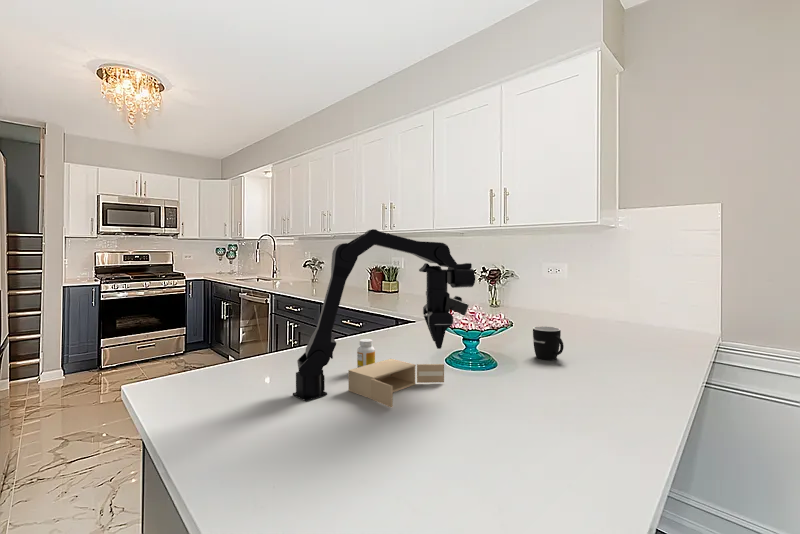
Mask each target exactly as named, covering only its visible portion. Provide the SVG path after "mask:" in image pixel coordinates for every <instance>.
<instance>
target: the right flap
mask: <svg viewBox="0 0 800 534" xmlns="http://www.w3.org/2000/svg"><path fill="white" fill-rule="evenodd" d="M417 383H418V384H421V383H422V384H423V383H426V384H427V383H445V363H428V364H427V363H423V364H422V363H418V364H416V384H417Z"/></svg>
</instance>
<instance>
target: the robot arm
mask: <svg viewBox="0 0 800 534" xmlns="http://www.w3.org/2000/svg"><path fill="white" fill-rule="evenodd" d="M373 246H377V247H381V248H386V249H390V250H393V251H398V252H401V253H402V252H403V253H406V254H410V255H413V256H415V257H417V258H418V259H421V260H423V261H425V263H423V265H422V266H421V267H420V268H418V272H421V273H426V291H425V296H426V304H425V305H424V306H423V307H422V314H423V317H424V321H425V323H426V326H427V329H428V331H429V333H430V336H431V339H432V341H433V342H434V344H435V346H436V349H438V350H439V349H440V350H441V349H442V347H443V342H444V338H445V334H446V332H447V330H448V329H449V328H450V327H452V326H453V324H454V316H453V314H451V313H450V312H451V311H452V312H455V313H459V315H461V316H466V314H467V311H468V308H469V306H470V305H469V304H468V303H467V302H465V301H463V297H461V296H458V295H455V296H454V297H451V296H450V293H449V292H448V285H450V287H451V289H452V288H453V289H454V288H455V289H457V288H473V287H474V285H475V282H476V274H475V271H474V269H473V267H472V265H473V264H472V263H471V262H465V263H457V262H456V260H455V259H454V257H453V256H452V254H451V251H450V248H449V245H448V244H447V243H445V242H437V241H420V240H415V239H412V238H411V239H410V238H407V237H403V236H400V235H395V234H391V233H389V232H388V233H387V232H383V231H380V230H377V229H369V230H367V231H365V232H364V233H363V234H361V235H360V236H358V237H356V238H354V239H352V240H351V241H349V242H343V243H340V244H339V243H338V244H337V245H336V246H335V247H334V248H333V250H332V253H331V264H330V265H331V266H330V267H331V268H330V278H329V283H328V286H327V289H326V293H325V296H324V300H323V303H322V308H321V311H320V315H319V319H318V323H317V325H316V328H315V330H314V332H312V335H311V337H310V338H309V340H308V343H307V345H306V347H305V351H304V353H303V354H302V355H301V356H300V357H299V358H298V359H297V360H296V361H297V362H296V363H297V368H298V371H296V372H295V392H292V396H293V397H296V398H298V399H300V400H302V401H306V402H309V401H312V400H315V399H318V398H322V397H324V396H327V395H328V392H327V391H325V387H326V386H325V383H326V381H325V374H324V369H323V368H324V367H325V366H327V365H328V364H329V361H330V359H331V360H332V359H334V354H333V352H334V350H335V348H336V346H337V341H336V340H335V338H334V337H332V334H333V333H332V332H333V328H334V324H335V323H336V322H335V321H336V318H337V314H338V311H339V307H340V303H341V299H342V296H343V292H344V289H345V287H346V282H347V280H348V277H349V276H350V274H351V272H352V271H353V268H354V267H355V264H356V262H358V257H359V256H361V255H363V254H364V253H365V252H367V251H368V250H369V249H370V248H372V247H373ZM426 262H427V263H426ZM429 263H430V264H437V265H430V264H429ZM442 267H445V268H447V269H443V268H442Z"/></svg>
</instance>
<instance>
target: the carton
mask: <svg viewBox="0 0 800 534" xmlns="http://www.w3.org/2000/svg"><path fill="white" fill-rule="evenodd" d="M416 367H417V364H414V363H410V362H407V361H403V360H397V359H394V358H388V359H385V360H381V361H376V362H375V363H373V364H369V365H366V366H362V367H358V368H357V367H355V368H351V369H348V370H347V371H348V373H347V374H348V376H347V377H348V378H347V379H348V392H350V393H354V394H357V395H359V396H362V397H365V398H368V399H371V379H375V380H378V381H380V382H383V383H386V384H389V385H391V386H393V393H396V392H399V391H401V390H404V389H407V388H409V387H412V386H415V385H416V384H417V382H416Z"/></svg>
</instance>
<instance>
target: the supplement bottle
mask: <svg viewBox="0 0 800 534" xmlns="http://www.w3.org/2000/svg"><path fill="white" fill-rule="evenodd" d="M373 343H374V342H373V339H370V338H362V339H359V343H358V344H359V346H358V347H357V350H356V355H357V356H356V357H357V358H356V360H357V365H356V368H358V367H362V366H366V365H369V364H373V363H376V349H375V347H374V346H373Z"/></svg>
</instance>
